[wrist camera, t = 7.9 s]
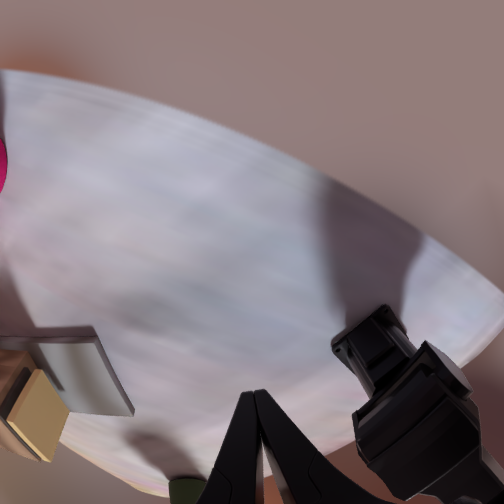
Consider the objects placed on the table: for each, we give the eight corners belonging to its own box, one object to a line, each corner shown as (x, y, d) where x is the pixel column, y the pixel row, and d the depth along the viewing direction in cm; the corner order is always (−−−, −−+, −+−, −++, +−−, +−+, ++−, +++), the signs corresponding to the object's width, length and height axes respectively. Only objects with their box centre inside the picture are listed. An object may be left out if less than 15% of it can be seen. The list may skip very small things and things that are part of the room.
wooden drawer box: (97, 336, 21) (59, 417, 12) (134, 409, 25) (121, 483, 16) (-18, 335, 20) (-57, 384, 11) (20, 397, 23) (-5, 448, 15)
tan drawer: (42, 369, 19) (13, 422, 12) (69, 411, 21) (51, 462, 15) (-19, 361, 18) (-46, 400, 12) (6, 399, 20) (-14, 438, 14)
